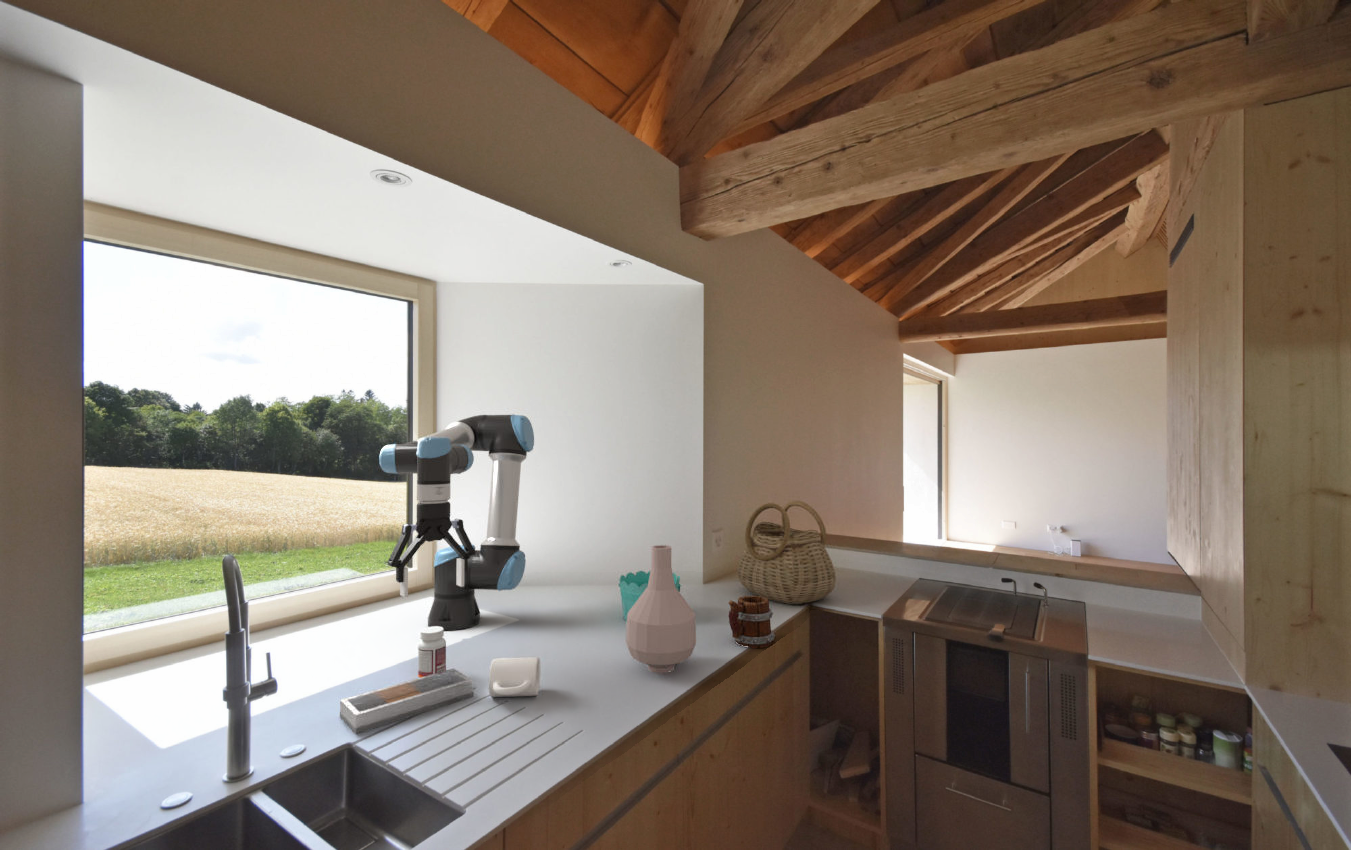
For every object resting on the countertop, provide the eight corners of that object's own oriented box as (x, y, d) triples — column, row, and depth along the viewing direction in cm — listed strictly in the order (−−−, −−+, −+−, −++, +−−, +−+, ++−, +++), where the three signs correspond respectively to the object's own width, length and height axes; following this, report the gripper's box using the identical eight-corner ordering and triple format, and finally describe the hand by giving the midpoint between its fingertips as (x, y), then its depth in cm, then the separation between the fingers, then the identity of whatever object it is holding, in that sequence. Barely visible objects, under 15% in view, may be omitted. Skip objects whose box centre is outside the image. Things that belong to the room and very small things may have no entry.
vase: (643, 687, 140) (644, 556, 140) (614, 662, 155) (615, 543, 156) (709, 674, 148) (709, 549, 148) (675, 650, 164) (676, 538, 164)
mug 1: (496, 687, 140) (496, 652, 140) (540, 686, 141) (540, 651, 141) (484, 711, 128) (484, 673, 128) (532, 710, 129) (532, 672, 129)
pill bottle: (444, 670, 150) (444, 623, 150) (447, 679, 144) (447, 631, 144) (417, 674, 147) (417, 627, 147) (418, 683, 142) (419, 634, 142)
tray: (355, 733, 118) (355, 715, 118) (339, 716, 125) (339, 699, 125) (473, 696, 135) (473, 680, 135) (453, 683, 142) (453, 667, 142)
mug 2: (785, 641, 171) (779, 589, 169) (750, 661, 162) (744, 607, 160) (755, 630, 180) (749, 581, 178) (720, 649, 171) (713, 598, 169)
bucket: (609, 621, 189) (609, 579, 189) (635, 606, 205) (635, 567, 206) (666, 629, 181) (666, 585, 181) (688, 612, 198) (688, 572, 198)
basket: (850, 600, 213) (850, 504, 213) (795, 614, 197) (795, 509, 197) (777, 580, 241) (777, 495, 242) (724, 591, 225) (724, 499, 225)
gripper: (384, 507, 135) (384, 603, 135) (489, 498, 152) (488, 584, 152) (373, 504, 140) (372, 597, 140) (475, 496, 158) (474, 579, 157)
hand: (432, 590), depth 146 cm, fingers open, 13 cm apart
